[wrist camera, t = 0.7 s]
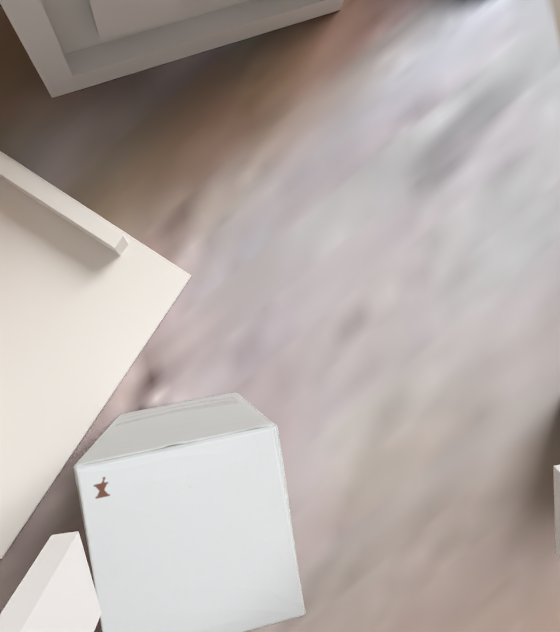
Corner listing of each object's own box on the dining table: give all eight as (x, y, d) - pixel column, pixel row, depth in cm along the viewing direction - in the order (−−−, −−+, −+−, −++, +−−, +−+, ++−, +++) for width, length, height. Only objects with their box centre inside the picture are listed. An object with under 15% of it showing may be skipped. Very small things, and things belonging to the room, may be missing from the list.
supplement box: (136, 538, 30) (98, 680, 17) (117, 411, 30) (66, 460, 17) (261, 510, 31) (310, 622, 18) (241, 389, 31) (278, 419, 19)
